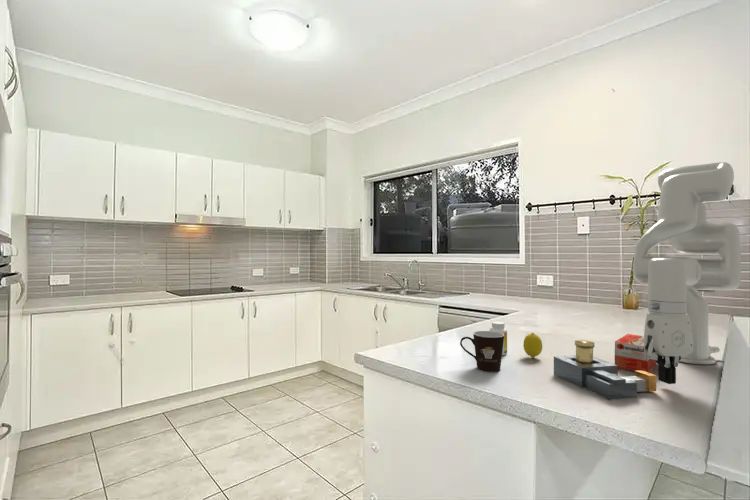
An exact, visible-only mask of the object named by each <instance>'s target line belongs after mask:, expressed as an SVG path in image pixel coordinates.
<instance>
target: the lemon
mask: <svg viewBox="0 0 750 500" xmlns="http://www.w3.org/2000/svg"><path fill="white" fill-rule="evenodd" d="M523 350H524V352H525V354H526V355H528V356H530V357H531V358H532V359H534V358H536V357H538V356H540V355H541V353H542V351H543V342H542V338H541V337H540V336H539V335H537V334H535V333H534V332H531V333H528V334H527V335H526V336H525V337H524V339H523Z"/></svg>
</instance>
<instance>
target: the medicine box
mask: <svg viewBox="0 0 750 500" xmlns="http://www.w3.org/2000/svg"><path fill="white" fill-rule="evenodd" d="M614 364H615V365H618V370H622V371H623V370H624V371H632V372H635V371H638V370H642V371H645V372H648V373H651V371H653V370H654V368H655V367H657V366H658V365H657V364H656V361H655V360H652V359H649V358H647V351H646V350H645V348H644V335H637V334H631V333H627V334H625V335H624V336H622V337H620V338H618V339H617V340H615V341H614Z"/></svg>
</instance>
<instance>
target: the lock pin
mask: <svg viewBox="0 0 750 500" xmlns="http://www.w3.org/2000/svg"><path fill="white" fill-rule="evenodd" d="M620 377H621V378H624V379H626V381H627V380H632V381H635V382H637V393H640V392H642V393H643V392H649V393H651V392H657V375H656V374H653V373H651V372H649V373H648V372H645V371H642V370H638V371H634V375H630V376H629V375H628V376H627V375H626V376H620Z"/></svg>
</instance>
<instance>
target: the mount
mask: <svg viewBox="0 0 750 500" xmlns="http://www.w3.org/2000/svg"><path fill="white" fill-rule="evenodd" d="M553 375H554V376H555V377H558V378H560V379H562V380H564V381H566V382H568V383H570V384H572V385H574V386H576V387H578V388H580V389H585V390H588V391H590V392H592V393H594V394H596V395H598V396H600V397H602V398H604V399H606V400H608V401H611V400H612V401H613V400H623V399H633V398H638V392H637V382H635V381H632V380H627V381H626V379H624V378H621V377H622V376H619V369H618V365H615V363H612V362H609V361H606V360H603V359H601V358H598V357H595V356H593V364H581V363H578V362H576V354H574V355H573V354H572V355H557V356H556V355H555V356H553Z"/></svg>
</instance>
